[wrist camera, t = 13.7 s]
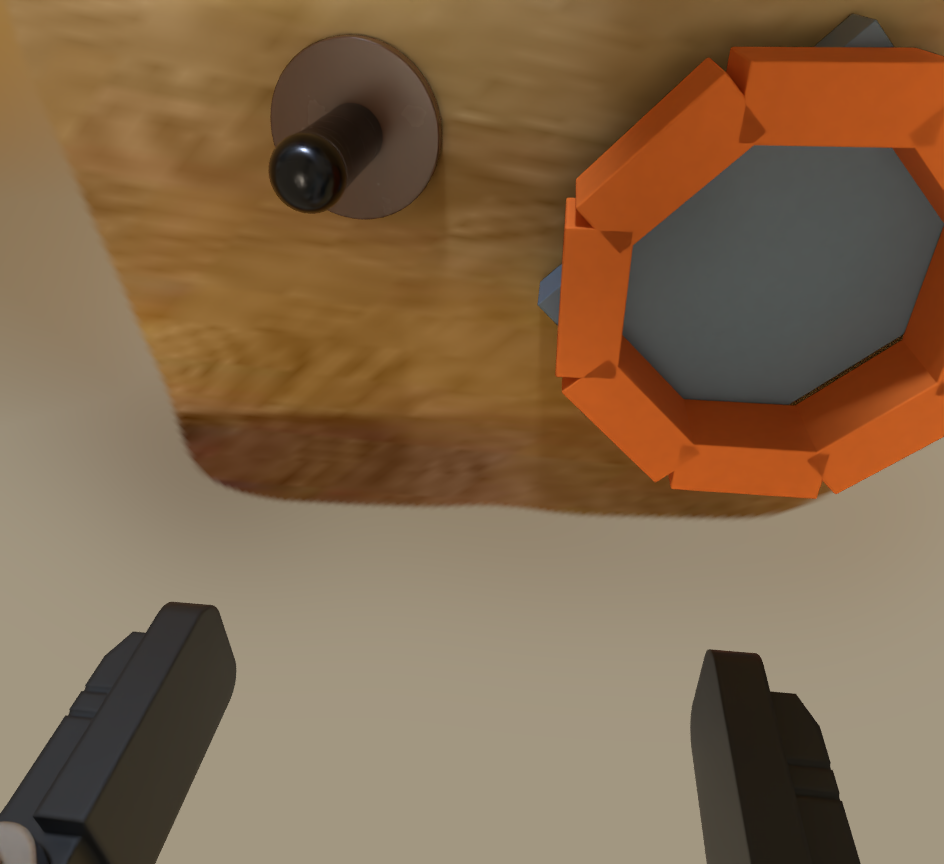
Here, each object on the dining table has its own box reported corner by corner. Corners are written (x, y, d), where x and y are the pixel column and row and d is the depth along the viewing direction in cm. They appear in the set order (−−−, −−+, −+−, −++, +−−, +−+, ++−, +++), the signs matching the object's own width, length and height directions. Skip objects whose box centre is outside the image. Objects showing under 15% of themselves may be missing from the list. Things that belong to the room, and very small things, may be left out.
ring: (852, -78, 22) (893, -81, 19) (1081, 289, 27) (1142, 331, 24) (479, 267, 30) (468, 303, 27) (715, 502, 35) (727, 553, 32)
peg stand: (346, -10, 27) (270, 6, 20) (477, 132, 29) (447, 188, 23) (244, 127, 30) (151, 180, 24) (369, 245, 33) (316, 323, 26)
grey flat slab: (852, 12, 25) (876, 19, 23) (997, 234, 29) (1029, 257, 27) (539, 282, 33) (537, 305, 31) (687, 433, 36) (693, 463, 34)
